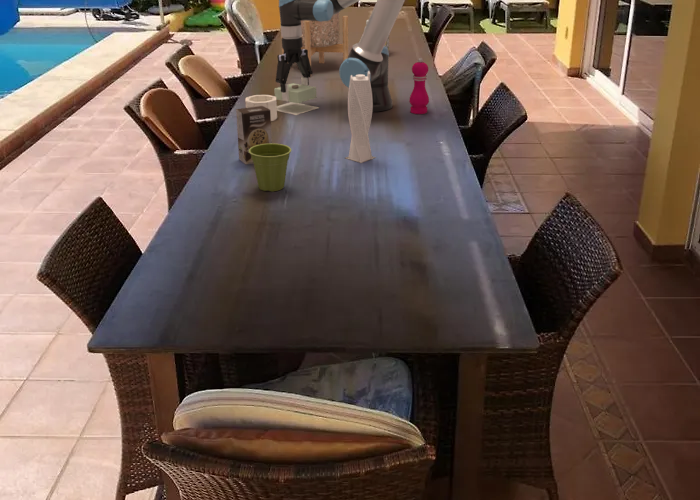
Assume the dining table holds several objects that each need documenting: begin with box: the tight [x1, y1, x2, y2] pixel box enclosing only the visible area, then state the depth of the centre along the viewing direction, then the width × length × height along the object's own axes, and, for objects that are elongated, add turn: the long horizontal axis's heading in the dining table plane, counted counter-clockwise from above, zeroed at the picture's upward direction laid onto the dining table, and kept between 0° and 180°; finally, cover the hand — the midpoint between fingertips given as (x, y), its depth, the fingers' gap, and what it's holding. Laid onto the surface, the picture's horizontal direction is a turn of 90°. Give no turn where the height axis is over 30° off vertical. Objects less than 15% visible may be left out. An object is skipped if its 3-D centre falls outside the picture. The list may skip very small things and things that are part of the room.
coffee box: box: [235, 106, 273, 165], centre depth 242 cm, size 9×6×16 cm
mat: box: [277, 102, 320, 116], centre depth 298 cm, size 14×13×1 cm
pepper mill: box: [408, 57, 430, 115], centre depth 289 cm, size 7×7×20 cm
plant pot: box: [249, 142, 292, 192], centre depth 221 cm, size 12×12×11 cm
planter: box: [280, 12, 349, 71], centre depth 352 cm, size 22×23×32 cm
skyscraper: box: [344, 71, 377, 164], centre depth 239 cm, size 8×8×28 cm
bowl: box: [244, 94, 278, 122], centre depth 284 cm, size 11×11×8 cm
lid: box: [273, 83, 317, 104], centre depth 295 cm, size 12×10×5 cm
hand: (295, 97), depth 296 cm, fingers closed on lid, 10 cm apart
